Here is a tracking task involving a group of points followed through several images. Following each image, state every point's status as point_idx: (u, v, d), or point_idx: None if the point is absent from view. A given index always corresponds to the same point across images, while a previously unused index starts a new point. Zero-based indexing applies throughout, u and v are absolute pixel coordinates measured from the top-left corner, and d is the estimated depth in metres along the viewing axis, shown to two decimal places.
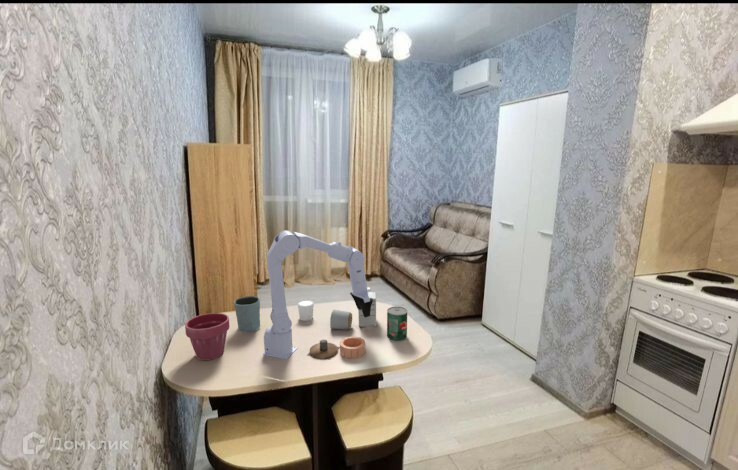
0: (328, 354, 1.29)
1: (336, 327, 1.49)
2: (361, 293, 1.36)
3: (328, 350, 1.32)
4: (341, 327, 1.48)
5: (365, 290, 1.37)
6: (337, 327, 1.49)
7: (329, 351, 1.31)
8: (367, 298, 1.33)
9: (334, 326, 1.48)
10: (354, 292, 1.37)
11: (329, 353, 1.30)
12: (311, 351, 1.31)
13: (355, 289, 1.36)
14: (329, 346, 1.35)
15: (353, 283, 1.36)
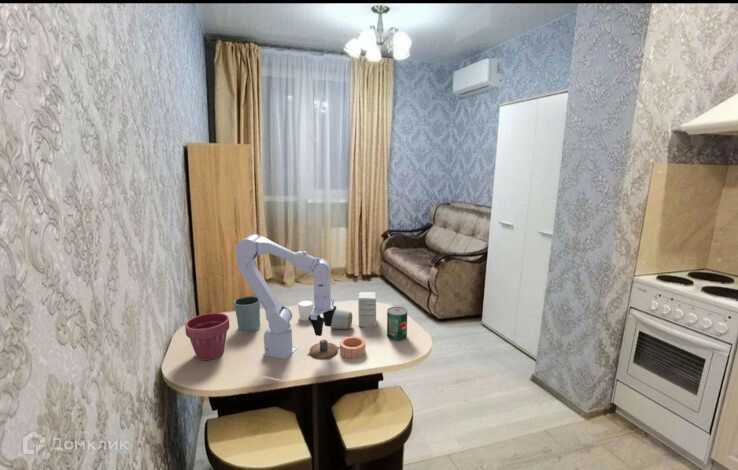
0: (328, 354, 1.29)
1: (336, 327, 1.49)
2: (317, 309, 1.27)
3: (328, 350, 1.32)
4: (341, 327, 1.49)
5: (323, 307, 1.27)
6: (337, 327, 1.49)
7: (329, 351, 1.31)
8: (313, 315, 1.23)
9: (334, 326, 1.49)
10: (314, 305, 1.29)
11: (329, 353, 1.30)
12: (311, 351, 1.31)
13: (314, 302, 1.28)
14: (329, 346, 1.35)
15: (314, 295, 1.28)
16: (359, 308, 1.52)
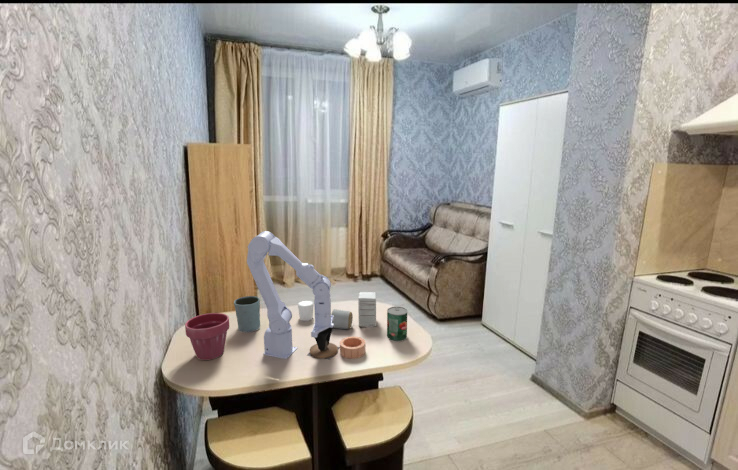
0: (328, 354, 1.29)
1: (336, 326, 1.49)
2: (318, 326, 1.28)
3: (328, 350, 1.32)
4: (341, 326, 1.49)
5: (323, 325, 1.28)
6: (337, 326, 1.49)
7: (329, 351, 1.31)
8: (314, 333, 1.24)
9: (334, 325, 1.49)
10: None
11: (329, 353, 1.30)
12: (311, 351, 1.31)
13: (315, 319, 1.29)
14: (329, 346, 1.35)
15: None
16: (359, 308, 1.52)
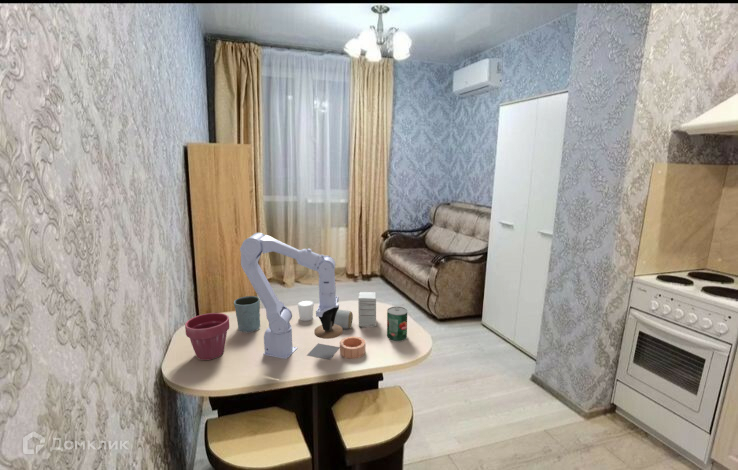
0: (333, 334, 1.28)
1: None
2: (322, 306, 1.27)
3: (333, 331, 1.30)
4: (341, 326, 1.49)
5: (328, 305, 1.26)
6: None
7: (334, 332, 1.29)
8: (319, 313, 1.23)
9: None
10: None
11: (334, 334, 1.28)
12: (316, 332, 1.30)
13: (319, 299, 1.28)
14: (334, 327, 1.33)
15: (319, 293, 1.28)
16: (359, 308, 1.52)
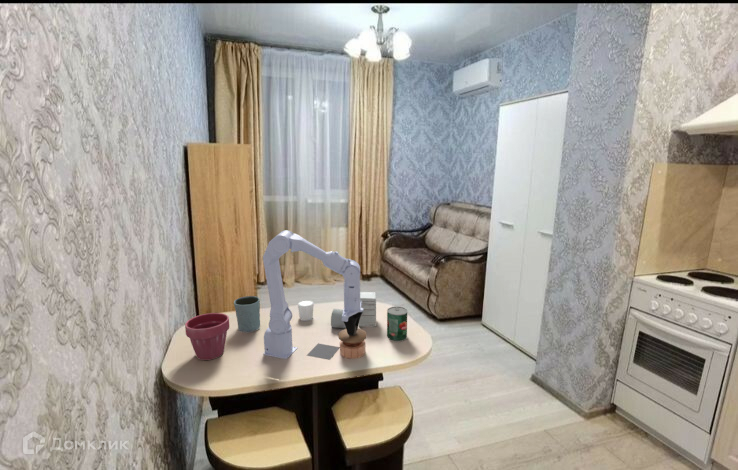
0: (358, 339, 1.28)
1: (336, 326, 1.50)
2: (347, 310, 1.27)
3: (357, 335, 1.30)
4: (342, 326, 1.49)
5: (353, 309, 1.26)
6: (338, 326, 1.50)
7: (359, 336, 1.29)
8: (345, 317, 1.23)
9: (335, 325, 1.50)
10: (344, 307, 1.29)
11: (359, 338, 1.28)
12: (340, 336, 1.30)
13: (344, 304, 1.28)
14: (357, 331, 1.33)
15: (344, 297, 1.28)
16: None
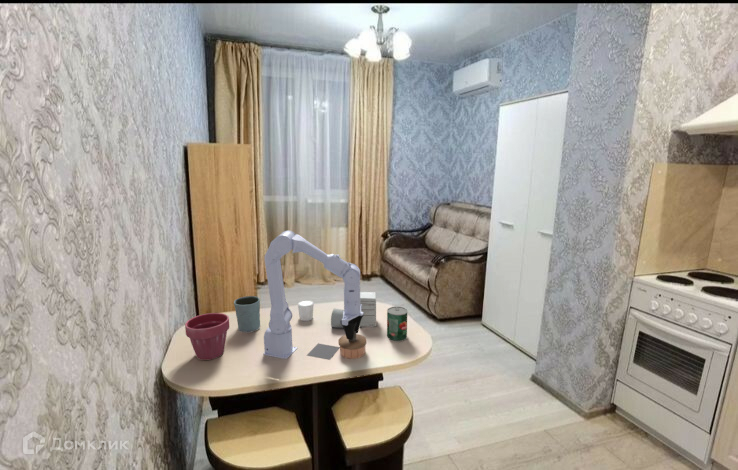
0: (358, 345, 1.28)
1: (336, 326, 1.50)
2: (347, 314, 1.27)
3: (357, 341, 1.31)
4: (342, 326, 1.50)
5: (353, 313, 1.27)
6: (338, 326, 1.50)
7: (359, 343, 1.30)
8: (345, 321, 1.23)
9: (335, 325, 1.50)
10: (344, 310, 1.29)
11: (359, 344, 1.29)
12: (340, 342, 1.30)
13: (344, 308, 1.28)
14: (357, 337, 1.34)
15: (344, 301, 1.28)
16: None
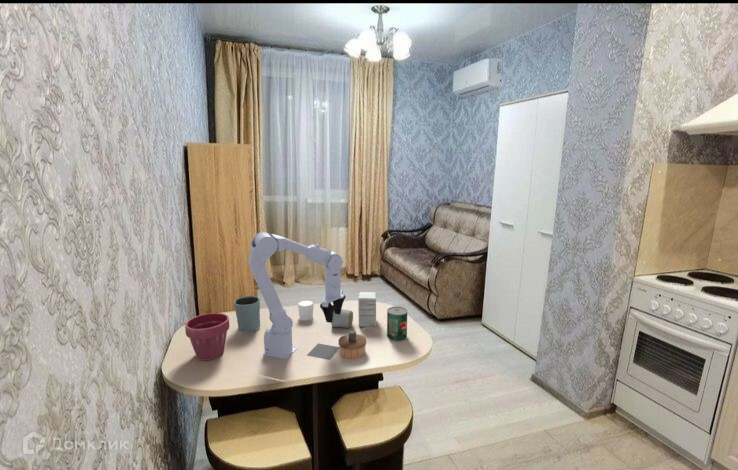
0: (358, 345, 1.28)
1: (337, 325, 1.50)
2: (328, 297, 1.35)
3: (357, 341, 1.31)
4: (342, 325, 1.50)
5: (333, 296, 1.35)
6: (338, 325, 1.50)
7: (359, 343, 1.30)
8: (325, 303, 1.31)
9: (335, 324, 1.50)
10: (325, 294, 1.37)
11: (359, 344, 1.29)
12: (340, 342, 1.30)
13: (325, 291, 1.36)
14: (357, 337, 1.34)
15: (325, 284, 1.36)
16: (359, 308, 1.52)
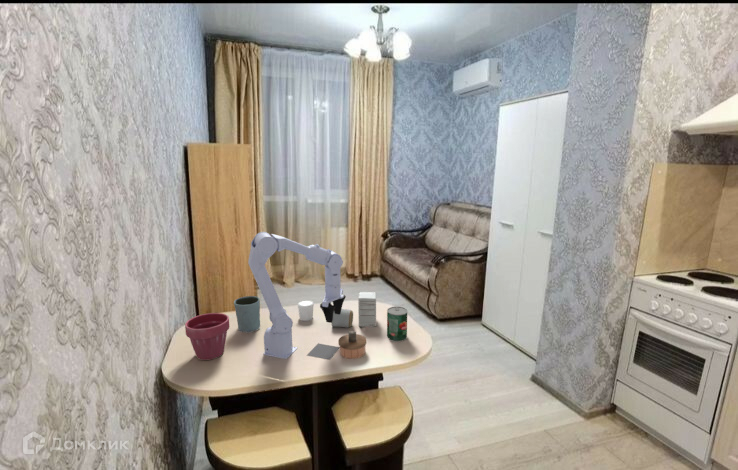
0: (358, 345, 1.28)
1: (337, 325, 1.51)
2: (328, 297, 1.35)
3: (357, 341, 1.31)
4: (342, 325, 1.50)
5: (333, 296, 1.35)
6: (338, 325, 1.51)
7: (359, 343, 1.30)
8: (325, 303, 1.31)
9: (335, 324, 1.50)
10: (325, 294, 1.37)
11: (359, 344, 1.29)
12: (340, 342, 1.30)
13: (325, 291, 1.36)
14: (357, 337, 1.34)
15: (325, 284, 1.36)
16: (359, 308, 1.52)
